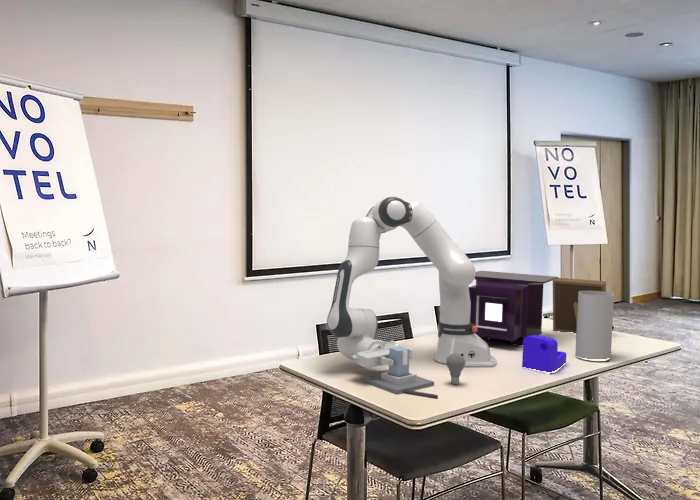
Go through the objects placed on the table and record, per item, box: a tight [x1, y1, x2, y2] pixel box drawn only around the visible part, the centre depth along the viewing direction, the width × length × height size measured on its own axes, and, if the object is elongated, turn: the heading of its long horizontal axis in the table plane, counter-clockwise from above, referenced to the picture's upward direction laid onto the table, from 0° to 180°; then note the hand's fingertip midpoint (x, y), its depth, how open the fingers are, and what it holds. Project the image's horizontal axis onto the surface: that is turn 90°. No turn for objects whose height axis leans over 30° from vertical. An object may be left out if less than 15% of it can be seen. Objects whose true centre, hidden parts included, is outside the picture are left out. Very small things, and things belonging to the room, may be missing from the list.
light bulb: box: [446, 353, 465, 385], centre depth 199 cm, size 6×6×10 cm
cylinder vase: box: [575, 291, 615, 359], centre depth 235 cm, size 12×12×25 cm
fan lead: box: [403, 390, 439, 399], centre depth 187 cm, size 11×1×1 cm, turn 63°
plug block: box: [388, 346, 410, 377], centre depth 197 cm, size 4×5×9 cm
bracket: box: [521, 335, 567, 372], centre depth 222 cm, size 18×11×12 cm, turn 130°
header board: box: [363, 370, 435, 395], centre depth 198 cm, size 16×16×3 cm
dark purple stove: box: [469, 270, 559, 346], centre depth 263 cm, size 35×35×27 cm
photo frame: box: [552, 277, 607, 334], centre depth 276 cm, size 15×22×25 cm
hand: (401, 361), depth 197 cm, fingers closed on plug block, 4 cm apart
